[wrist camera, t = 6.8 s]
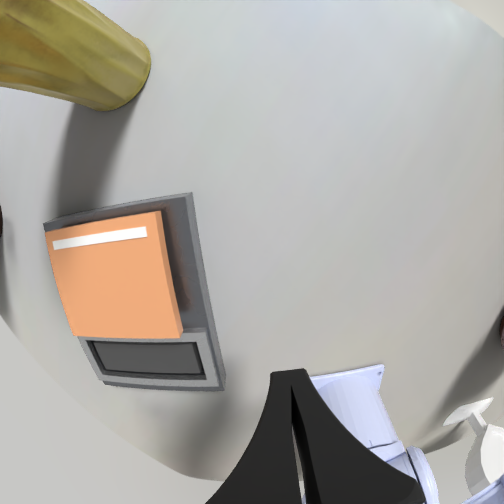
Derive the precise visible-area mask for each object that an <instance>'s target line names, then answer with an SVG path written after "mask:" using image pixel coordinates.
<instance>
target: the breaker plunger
mask: <svg viewBox="0 0 504 504" xmlns="http://www.w3.org/2000/svg"><path fill="white" fill-rule="evenodd" d="M94 345H95V347H96V350H97V352H98V354H99V356H100V358H101V360H102V362H103V364H104V366H105V368H106V369H109V370H120V371H134V372H152V373H201V368H202V360H201V357H200V353H199V349H198V346H197V342H115V341H94Z"/></svg>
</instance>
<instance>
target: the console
mask: <svg viewBox="0 0 504 504" xmlns="http://www.w3.org/2000/svg"><path fill="white" fill-rule="evenodd" d="M155 211H161V216H162V223H163V230H164V236H165V242H166V248H167V254H168V260H169V265H170V271H171V276H172V281H173V286H174V291H175V296H176V301H177V305H178V310H179V314H180V319H181V323H182V327H183V332H182V335H181V337H180V338H163V339H143V338H104V337H85V336H77V337H78V339H79V341H80V343H81V346H82V348H83V350H84V352H85V354H86V356H87V358H88V360H89V362H90V364H91V366H92V368H93V370H94V371H95V373H96V375H97V377H98V379H99V380H102V381H103V382H104V384H105V385H112V386H121V387H130V388H142V389H156V390H178V391H224V388H225V379H226V373H225V369H224V364H223V360H222V355H221V351H220V346H219V342H218V337H217V332H216V327H215V323H214V318H213V313H212V308H211V302H210V297H209V292H208V287H207V281H206V276H205V270H204V264H203V259H202V253H201V247H200V241H199V234H198V228H197V222H196V215H195V208H194V201H193V194H192V192H191V193H184V194H177V195H170V196H164V197H158V198H152V199H146V200H140V201H134V202H129V203H123V204H118V205H113V206H108V207H103V208H98V209H93V210H89V211H84V212H79V213H75V214H70V215H66V216H62V217H58V218H55V219H53V220H51V221H48V222H46V223H44V224H43V225H44V230H45V232H48V231H51V230H55V229H60V228H65V227H70V226H74V225H80V224H85V223H90V222H95V221H101V220H106V219H112V218H118V217H124V216H130V215H136V214H142V213H148V212H155ZM94 341H115V342H197V346H198V349H199V353H200V357H201V360H202V368H201V373H152V372H134V371H120V370H109V369H106V368H105V366H104V364H103V362H102V360H101V358H100V356H99V354H98V352H97V350H96V347H95V345H94Z"/></svg>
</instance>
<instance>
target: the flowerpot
mask: <svg viewBox="0 0 504 504" xmlns="http://www.w3.org/2000/svg"><path fill="white" fill-rule="evenodd" d="M500 337H501V344H502V347H503V349H504V317H503V319H502V322H501V326H500Z"/></svg>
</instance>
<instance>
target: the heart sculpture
mask: <svg viewBox="0 0 504 504" xmlns="http://www.w3.org/2000/svg"><path fill="white" fill-rule="evenodd" d="M493 398H494V397H492V398H489V399H485V400H482V401H478V402H474V403H470V404H466V405H462V406H459V407H458V408H457V409H456V410H455V411H454V412H453V413H451V414H450V415H449V416H448V417H447V419H446V420H445V422H444V424H443V426H446V425H450V424H454V423H457V422H461V421H464V420H468V421H469V423H470V425H471V426H472V428H473V430H474V431H475V433H476V435H477V437H476V439H475V442H474V444H473V446H472V448H471V450H470V452H469V455H468V458H467V461H466V469H465V470H466V471H465V478H466V481H467V484H468V488H469V491H470V492H471V494H472V496H474V495H475V494H477V493H478V492H480V491H481V490H483V489H484V488H486V487H487V486H489V485H490V484H492V483H493V482H494V481H496V480H497V479H499V478H500V477H501V475H503V474H504V428H501V427H497V426H493V425H491V424H488V425H486V423H485V421H484V420H483V418H482V417H481V415H480V414H481V413H482V412H483V411H484V410H485V409H486V408H487V407H488V406H489V405H490V403H491V402H492V400H493Z"/></svg>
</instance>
